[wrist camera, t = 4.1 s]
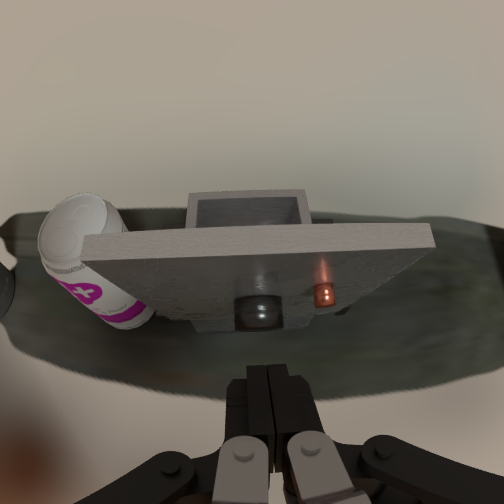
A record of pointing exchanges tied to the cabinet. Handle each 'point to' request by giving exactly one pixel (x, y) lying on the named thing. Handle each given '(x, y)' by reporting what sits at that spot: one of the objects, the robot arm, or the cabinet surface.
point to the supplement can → (77, 273)
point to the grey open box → (247, 214)
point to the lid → (255, 268)
